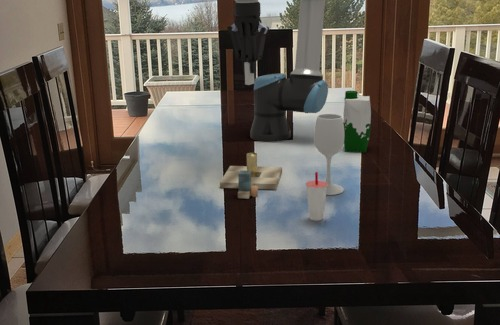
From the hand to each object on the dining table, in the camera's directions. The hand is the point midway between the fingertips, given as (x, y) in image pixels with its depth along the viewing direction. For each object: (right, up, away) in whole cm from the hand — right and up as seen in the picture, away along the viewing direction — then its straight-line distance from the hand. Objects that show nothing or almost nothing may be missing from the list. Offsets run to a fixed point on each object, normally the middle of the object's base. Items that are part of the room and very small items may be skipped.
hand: (249, 83), depth 182 cm
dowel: (+1, -32, -13) cm, 35 cm away
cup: (+16, -37, -30) cm, 50 cm away
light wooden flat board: (0, -29, -4) cm, 30 cm away
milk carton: (+36, -19, +29) cm, 50 cm away
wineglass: (+22, -31, -10) cm, 39 cm away
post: (+1, -28, -1) cm, 28 cm away
